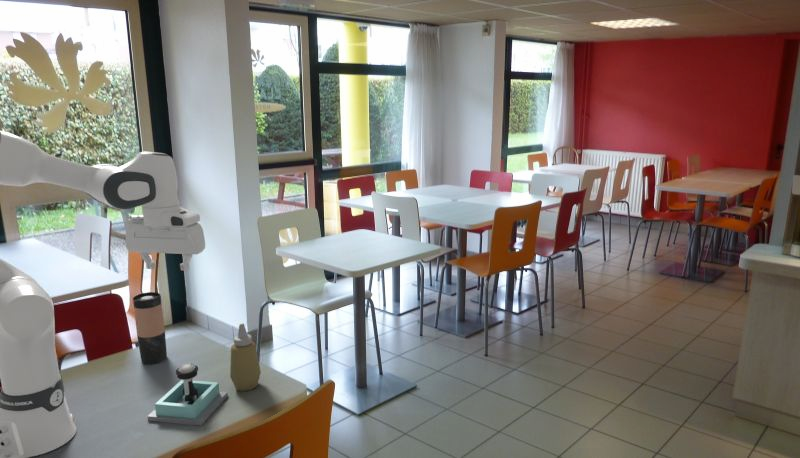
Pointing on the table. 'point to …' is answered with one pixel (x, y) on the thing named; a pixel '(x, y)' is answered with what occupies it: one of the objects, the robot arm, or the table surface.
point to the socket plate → (195, 414)
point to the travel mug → (150, 327)
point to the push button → (188, 382)
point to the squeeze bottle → (244, 361)
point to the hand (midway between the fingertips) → (168, 269)
